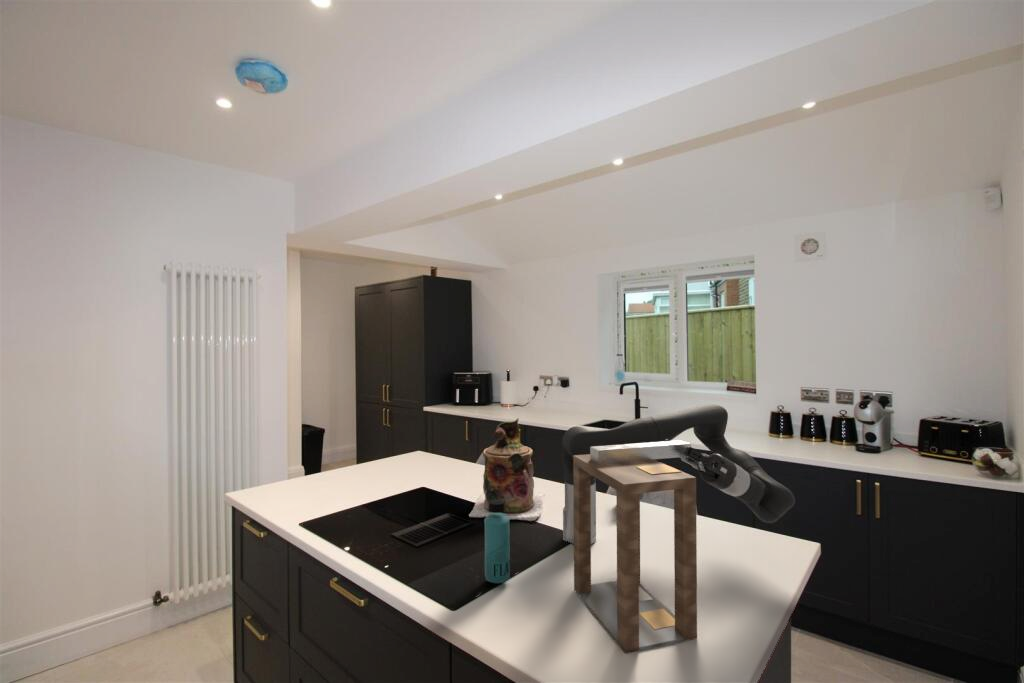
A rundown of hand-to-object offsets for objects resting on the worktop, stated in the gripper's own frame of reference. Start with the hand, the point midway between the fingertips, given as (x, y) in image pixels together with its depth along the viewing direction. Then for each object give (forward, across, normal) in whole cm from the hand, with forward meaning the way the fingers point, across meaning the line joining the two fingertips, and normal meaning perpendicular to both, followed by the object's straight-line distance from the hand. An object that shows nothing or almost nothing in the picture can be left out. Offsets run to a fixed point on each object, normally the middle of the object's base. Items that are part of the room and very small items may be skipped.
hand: (675, 446), depth 112 cm
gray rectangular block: (+7, 0, +6) cm, 9 cm away
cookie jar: (+3, -65, +41) cm, 77 cm away
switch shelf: (-4, +5, +37) cm, 38 cm away
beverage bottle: (+18, -16, +50) cm, 55 cm away
